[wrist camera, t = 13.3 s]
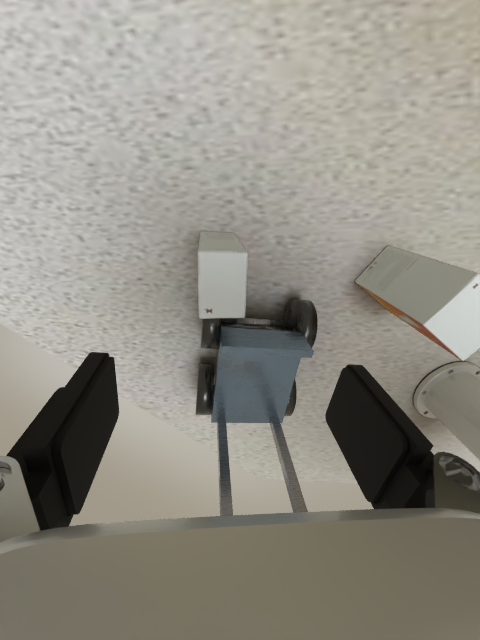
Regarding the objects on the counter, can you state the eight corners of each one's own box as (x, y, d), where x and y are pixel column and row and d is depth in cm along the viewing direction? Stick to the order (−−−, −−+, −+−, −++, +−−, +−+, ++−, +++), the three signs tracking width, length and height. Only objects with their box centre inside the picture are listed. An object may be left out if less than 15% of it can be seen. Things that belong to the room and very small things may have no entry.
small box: (352, 281, 36) (421, 325, 24) (387, 243, 34) (481, 271, 22) (387, 311, 39) (463, 363, 27) (421, 277, 37) (520, 318, 25)
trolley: (302, 292, 36) (411, 409, 17) (277, 392, 43) (331, 550, 24) (205, 283, 34) (201, 405, 15) (197, 390, 41) (187, 561, 22)
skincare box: (233, 279, 34) (245, 320, 23) (200, 279, 33) (197, 320, 23) (235, 230, 31) (249, 251, 20) (199, 229, 31) (195, 250, 20)
